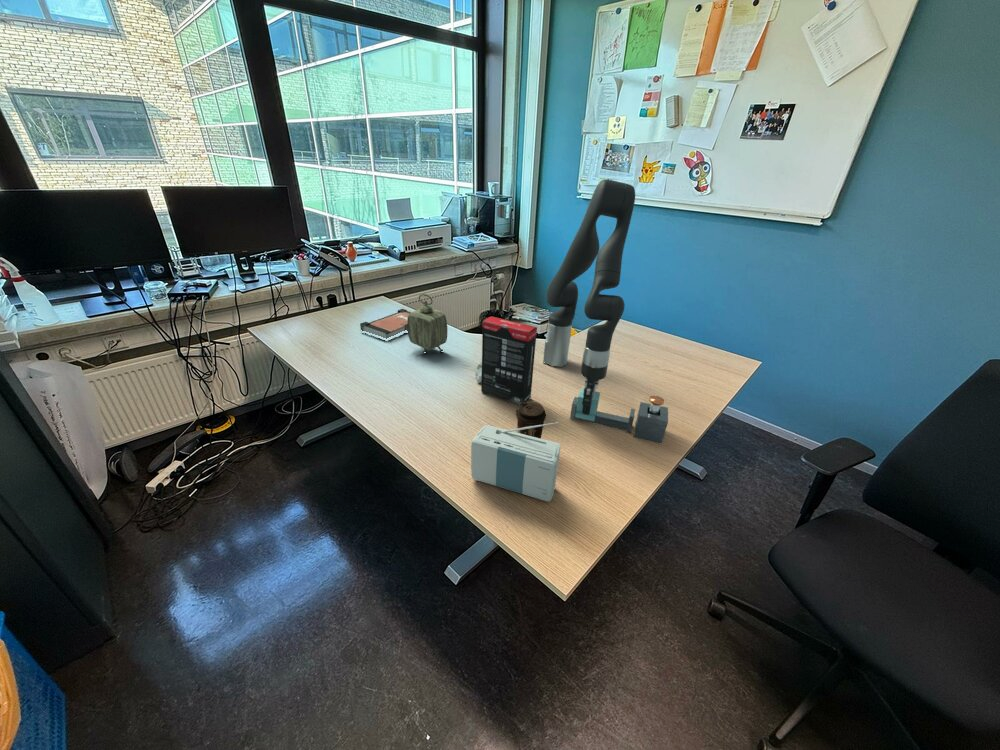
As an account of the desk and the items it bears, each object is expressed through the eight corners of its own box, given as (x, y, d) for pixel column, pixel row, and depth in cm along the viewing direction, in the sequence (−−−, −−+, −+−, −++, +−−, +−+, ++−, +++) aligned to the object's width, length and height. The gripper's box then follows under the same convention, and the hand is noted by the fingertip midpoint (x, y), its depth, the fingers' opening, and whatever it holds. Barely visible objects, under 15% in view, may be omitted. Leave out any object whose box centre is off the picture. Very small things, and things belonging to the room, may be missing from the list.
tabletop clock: (448, 352, 166) (446, 295, 154) (434, 360, 159) (431, 300, 147) (422, 344, 173) (418, 288, 161) (407, 351, 166) (402, 293, 154)
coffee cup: (512, 436, 117) (514, 399, 111) (539, 435, 118) (543, 399, 112) (515, 455, 110) (518, 417, 104) (545, 454, 111) (549, 416, 104)
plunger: (644, 420, 118) (649, 401, 114) (645, 413, 121) (650, 394, 118) (658, 423, 116) (664, 404, 113) (659, 416, 120) (664, 397, 116)
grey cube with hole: (633, 437, 119) (639, 415, 115) (635, 423, 126) (640, 401, 122) (661, 443, 117) (668, 421, 113) (661, 428, 123) (667, 407, 120)
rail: (569, 419, 126) (572, 403, 123) (572, 412, 130) (574, 396, 127) (630, 433, 121) (634, 417, 118) (631, 425, 125) (635, 409, 122)
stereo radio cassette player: (469, 482, 100) (469, 418, 91) (482, 462, 107) (483, 400, 97) (549, 507, 94) (558, 440, 84) (557, 484, 101) (566, 420, 91)
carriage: (575, 417, 125) (578, 396, 121) (578, 408, 129) (581, 388, 125) (594, 421, 123) (597, 400, 119) (596, 412, 127) (600, 392, 124)
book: (387, 343, 174) (386, 332, 171) (361, 333, 182) (359, 323, 180) (428, 326, 193) (428, 316, 191) (403, 318, 201) (402, 308, 199)
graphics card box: (532, 398, 137) (538, 324, 124) (523, 407, 131) (529, 331, 118) (489, 385, 144) (491, 314, 131) (479, 393, 138) (480, 320, 125)
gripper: (586, 349, 124) (579, 394, 132) (578, 368, 112) (571, 416, 120) (610, 353, 122) (602, 399, 130) (605, 373, 110) (596, 422, 118)
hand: (587, 407), depth 125 cm, fingers open, 7 cm apart
